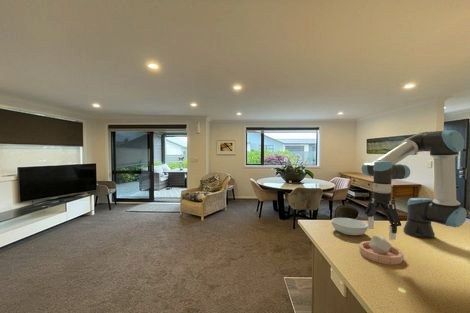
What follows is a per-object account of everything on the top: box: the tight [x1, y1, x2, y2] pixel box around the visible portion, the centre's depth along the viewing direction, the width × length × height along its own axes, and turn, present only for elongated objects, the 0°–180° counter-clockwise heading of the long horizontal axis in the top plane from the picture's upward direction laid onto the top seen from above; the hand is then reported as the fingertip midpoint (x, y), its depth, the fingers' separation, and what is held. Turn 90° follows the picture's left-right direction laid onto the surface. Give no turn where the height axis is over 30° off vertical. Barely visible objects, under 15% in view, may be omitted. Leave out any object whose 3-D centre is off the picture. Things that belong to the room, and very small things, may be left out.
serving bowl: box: [331, 217, 369, 236], centre depth 139 cm, size 21×21×7 cm
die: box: [369, 235, 393, 255], centre depth 109 cm, size 8×9×10 cm
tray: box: [358, 240, 405, 266], centre depth 109 cm, size 18×18×4 cm
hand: (380, 233), depth 109 cm, fingers open, 13 cm apart
